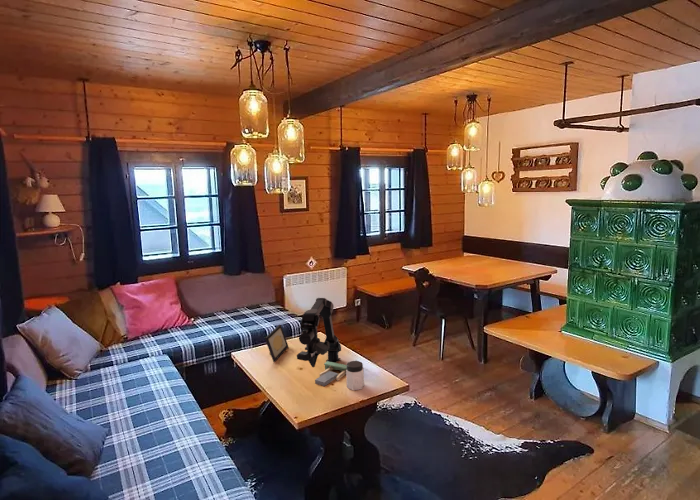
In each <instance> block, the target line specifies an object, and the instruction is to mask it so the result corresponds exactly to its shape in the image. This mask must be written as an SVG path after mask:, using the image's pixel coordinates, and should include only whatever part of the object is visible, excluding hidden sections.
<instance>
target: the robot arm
mask: <svg viewBox="0 0 700 500" xmlns="http://www.w3.org/2000/svg"><path fill="white" fill-rule="evenodd" d="M334 308H335V307H334V303H333V301H331V300H328V299H327V298H325V297H316V299H315V302H314V303H313V305H312V307H310V309H308V310H305V312H304V313H303V314H302V317H301V324H300V329H303V330H302V333H300V335H299V337H298V341H299V343H301V344H302V345H303V346H305V345H306V346H305V347H304V350H305V351H303V350H302V351H300V352H299V353H297V354H296V360H300V361H304V362H309V364H310V365H311V368H315V367H316V364H317V360H318V356H320V355H322V356H324V355H325V354H326V353H327V359H326V360H325V363H326V362H327V361H329V362H334V363H339V361H340V360H342V359H341V357H339V352H341V351H342V345H341V343H340V341H339V338H338V336H336V335H335V332H334V324H333V318H332V313H333V311H334ZM320 317H321V318H322V321H323V326H324V332H325V338H324V339H325V340H324V341H321V339H320V338H319V337H318V327H319V324H320Z"/></svg>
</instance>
